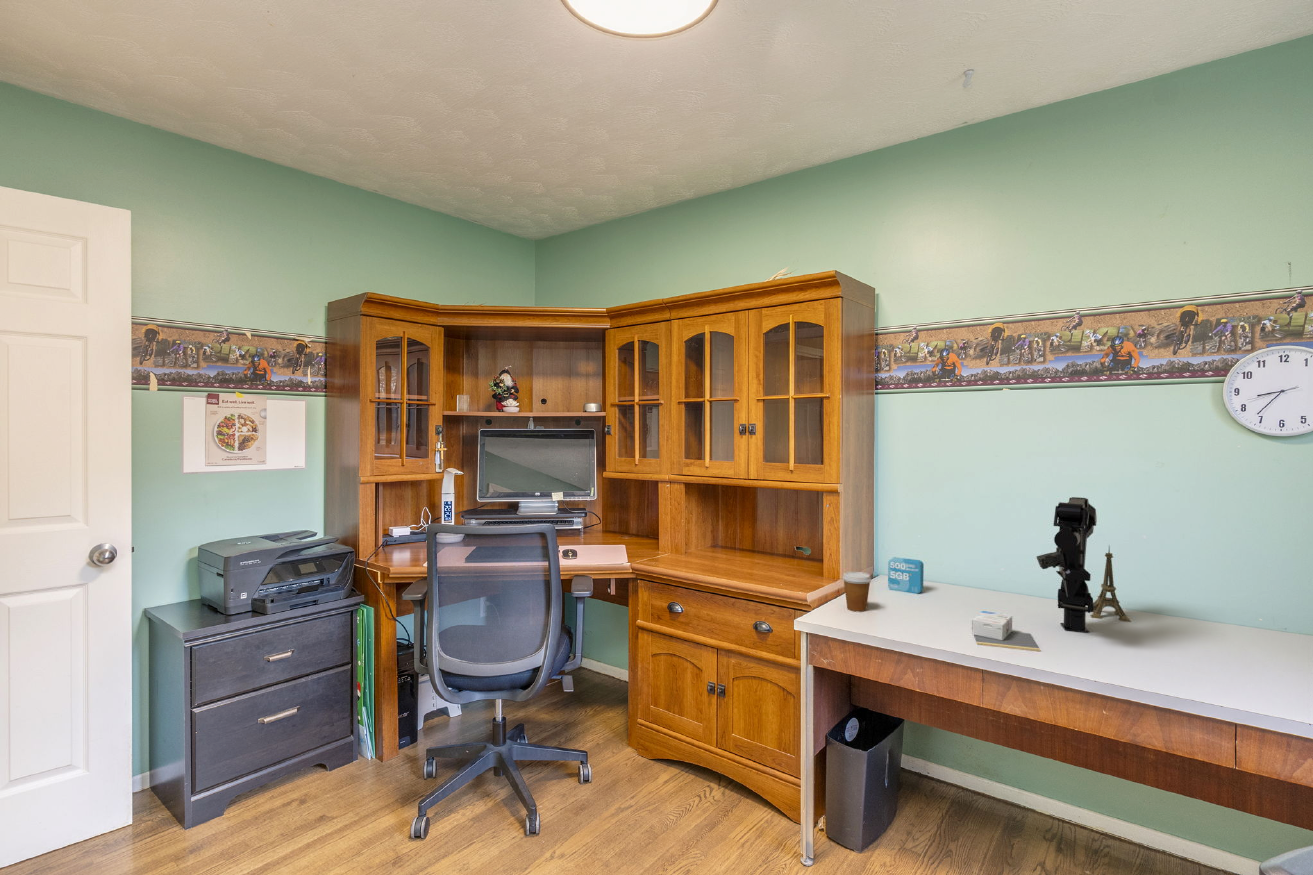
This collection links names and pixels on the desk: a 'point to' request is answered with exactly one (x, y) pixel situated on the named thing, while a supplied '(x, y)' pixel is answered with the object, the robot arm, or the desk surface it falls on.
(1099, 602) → the eiffel tower
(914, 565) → the data package
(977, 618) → the ink box
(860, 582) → the disposable coffee cup
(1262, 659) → the desk surface
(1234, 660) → the desk surface
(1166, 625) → the desk surface
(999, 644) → the mat
